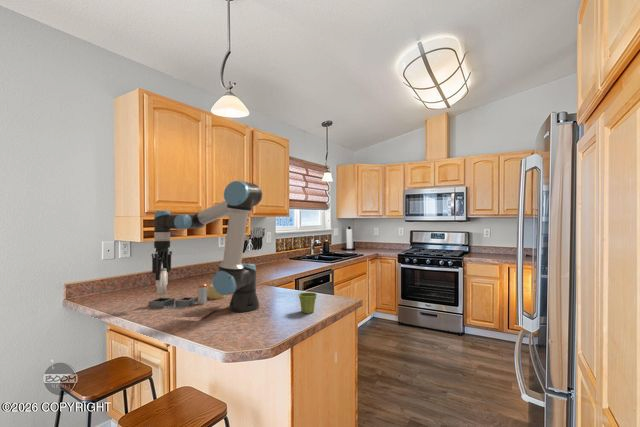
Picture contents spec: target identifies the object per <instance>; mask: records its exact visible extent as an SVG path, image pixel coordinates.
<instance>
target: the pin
mask: <svg viewBox="0 0 640 427" xmlns="http://www.w3.org/2000/svg"><path fill="white" fill-rule="evenodd" d="M197 285H198V288H197V289H198V290H197V294H198V295H197V296H198V303H197V305H198V306H199V305H200V306H201V305H203V306H204V305H206V304H208V296H207V288H208V284H207V283H199V284H197Z"/></svg>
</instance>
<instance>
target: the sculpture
mask: <svg viewBox="0 0 640 427" xmlns="http://www.w3.org/2000/svg"><path fill="white" fill-rule="evenodd" d="M227 296H228V295H221V294H219V293H218V292H217V291H216V290H215V289H214V287H213V284H212V282H211V283H210V284H209V285H207V299H210V300H221V299H225V298H227Z"/></svg>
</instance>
